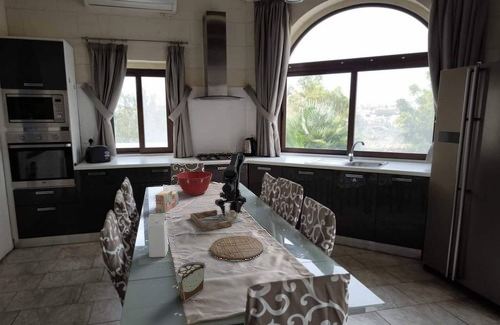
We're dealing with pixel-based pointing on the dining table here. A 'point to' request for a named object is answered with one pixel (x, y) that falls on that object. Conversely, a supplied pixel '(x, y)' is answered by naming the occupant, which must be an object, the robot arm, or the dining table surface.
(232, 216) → the birch block
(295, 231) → the dining table surface
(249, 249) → the trivet
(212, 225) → the walnut u-shaped frame
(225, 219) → the grey mat
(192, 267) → the cake slice
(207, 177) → the mixing bowl
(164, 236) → the milk carton
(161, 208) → the colourful printed box
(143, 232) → the dining table surface
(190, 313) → the dining table surface
